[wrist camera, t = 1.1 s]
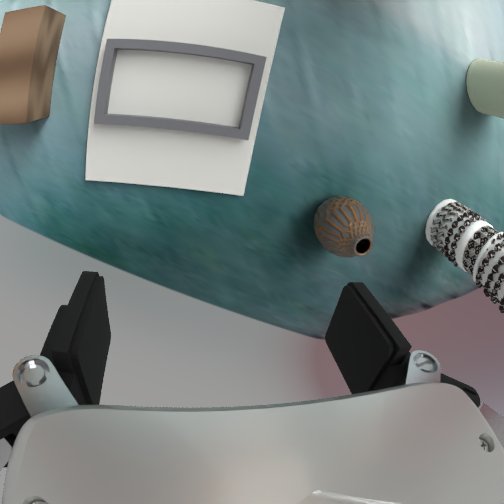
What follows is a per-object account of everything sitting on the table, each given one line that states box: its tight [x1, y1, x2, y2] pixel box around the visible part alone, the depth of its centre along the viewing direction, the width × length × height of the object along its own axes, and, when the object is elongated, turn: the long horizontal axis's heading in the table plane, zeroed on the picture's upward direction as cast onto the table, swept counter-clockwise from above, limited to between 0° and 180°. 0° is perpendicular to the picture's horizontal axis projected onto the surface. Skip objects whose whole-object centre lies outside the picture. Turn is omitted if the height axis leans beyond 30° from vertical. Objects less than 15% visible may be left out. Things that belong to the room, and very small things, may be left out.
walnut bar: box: [0, 5, 66, 124], centre depth 21 cm, size 12×5×6 cm, turn 168°
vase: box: [314, 196, 374, 257], centre depth 36 cm, size 7×7×9 cm
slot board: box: [85, 0, 285, 196], centre depth 28 cm, size 22×18×2 cm
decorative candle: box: [425, 199, 504, 313], centre depth 33 cm, size 9×9×25 cm
